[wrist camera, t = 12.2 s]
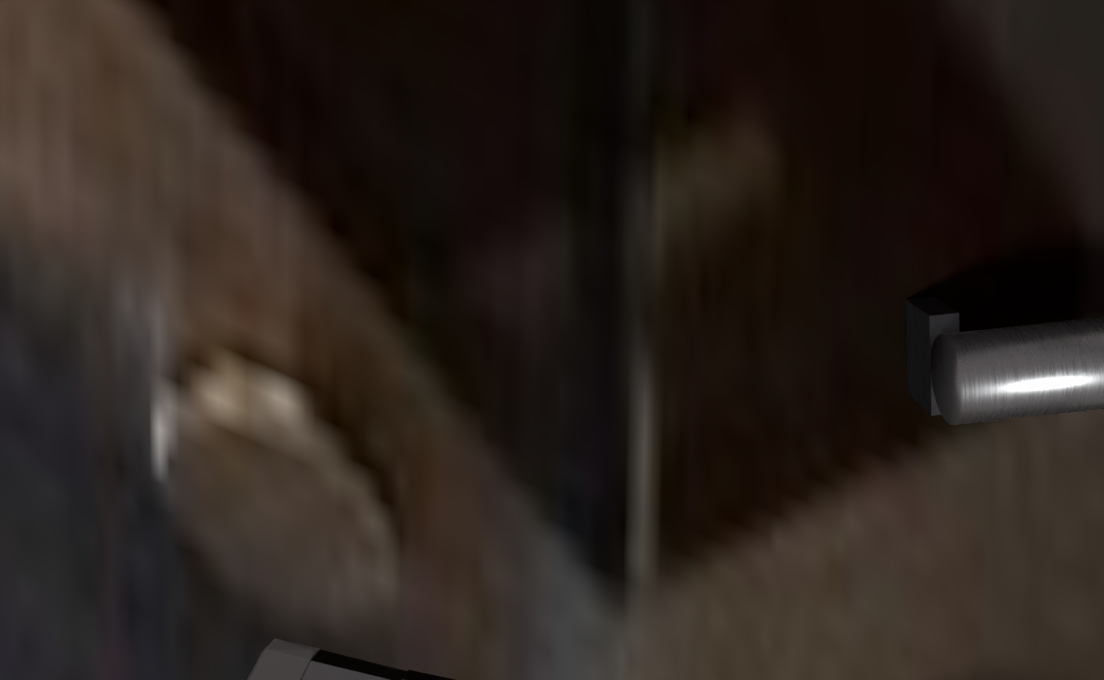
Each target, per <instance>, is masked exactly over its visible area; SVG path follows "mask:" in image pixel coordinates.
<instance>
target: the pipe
mask: <svg viewBox="0 0 1104 680" xmlns="http://www.w3.org/2000/svg"><path fill="white" fill-rule="evenodd" d="M906 336H907V372H908V393H909V394H910V395H911V396H912V397H913V398H914V399H915V400H916V401H917V402H918V403H919V404H920V405H921V406H922V407H923V408H924V409H925V410H926V411H927V412H928V413H929V414H930V415H941V414H942V416H943V418H944V419H945V420H946V421H947V422H948V423H949V424H951V425H956V424H966V423H975V422H985V421H994V420H1003V419H1013V418H1022V417H1032V416H1041V415H1051V414H1060V413H1070V412H1079V411H1089V410H1098V409H1104V317H1096V318H1086V319H1077V320H1068V321H1059V322H1050V323H1041V324H1032V325H1023V326H1013V327H1004V328H995V329H986V330H977V331H968V332H959V312H957V311H955V310H954V309H952V308H951V307H949V306H947V305H946V304H944V303H943V302H941V301H940V300H938V299H936V298H935V297H924V298H916V299H907V300H906Z"/></svg>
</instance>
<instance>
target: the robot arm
mask: <svg viewBox="0 0 1104 680" xmlns="http://www.w3.org/2000/svg"><path fill="white" fill-rule="evenodd" d="M247 680H454V679H450V678H445V677H440V676H435V675H431V674H426V673H421V672H417V671H412V670H408V671H405V670H401V669H397V668H393V667H389V666H385V665H381V664H377V663H373V662H369V661H365V660H361V659H357V658H353V657H349V656H345V655H341V654H337V653H333V652H329V651H325V650H321V649H318V648H314V647H310V646H305V645H301V644H297V643H292V642H288V641H284V640H279V639H274V640H273V641H272V642H271V643H270V644H269V645H268V646H267V647H266V648H265V649H264V651H263V652H262V653H261V655H260V657H259V659H258V661H257V663H256V665H255V666H254V668H253V670H252V672H251V674H250V676H249V678H248V679H247Z"/></svg>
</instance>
